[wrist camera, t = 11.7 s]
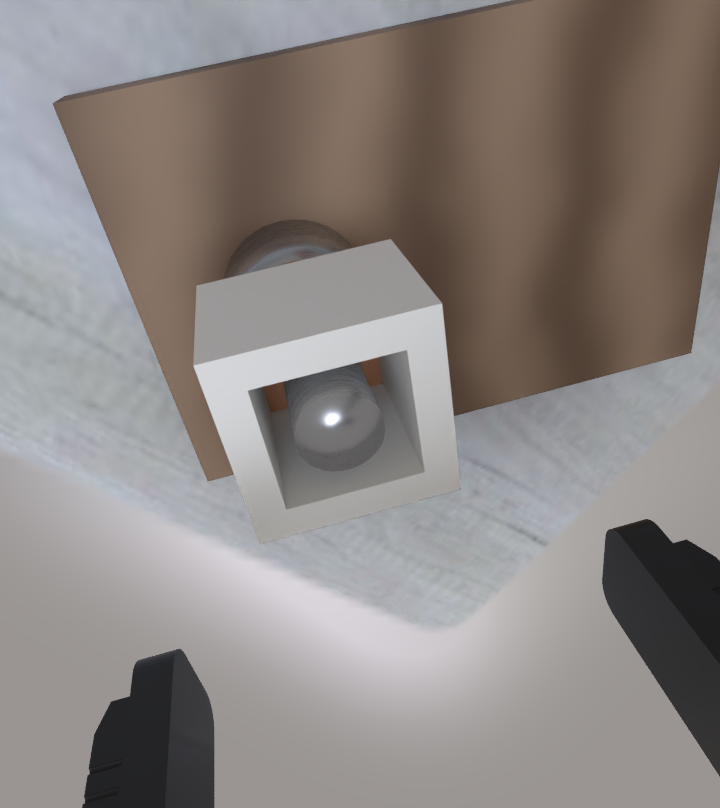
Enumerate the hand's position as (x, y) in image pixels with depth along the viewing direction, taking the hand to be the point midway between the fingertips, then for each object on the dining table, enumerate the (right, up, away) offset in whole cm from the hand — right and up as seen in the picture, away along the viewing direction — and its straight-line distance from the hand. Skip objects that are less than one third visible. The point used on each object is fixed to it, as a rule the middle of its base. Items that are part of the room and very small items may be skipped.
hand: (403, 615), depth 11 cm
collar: (-2, +6, +9) cm, 11 cm away
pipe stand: (+2, +11, +15) cm, 19 cm away
